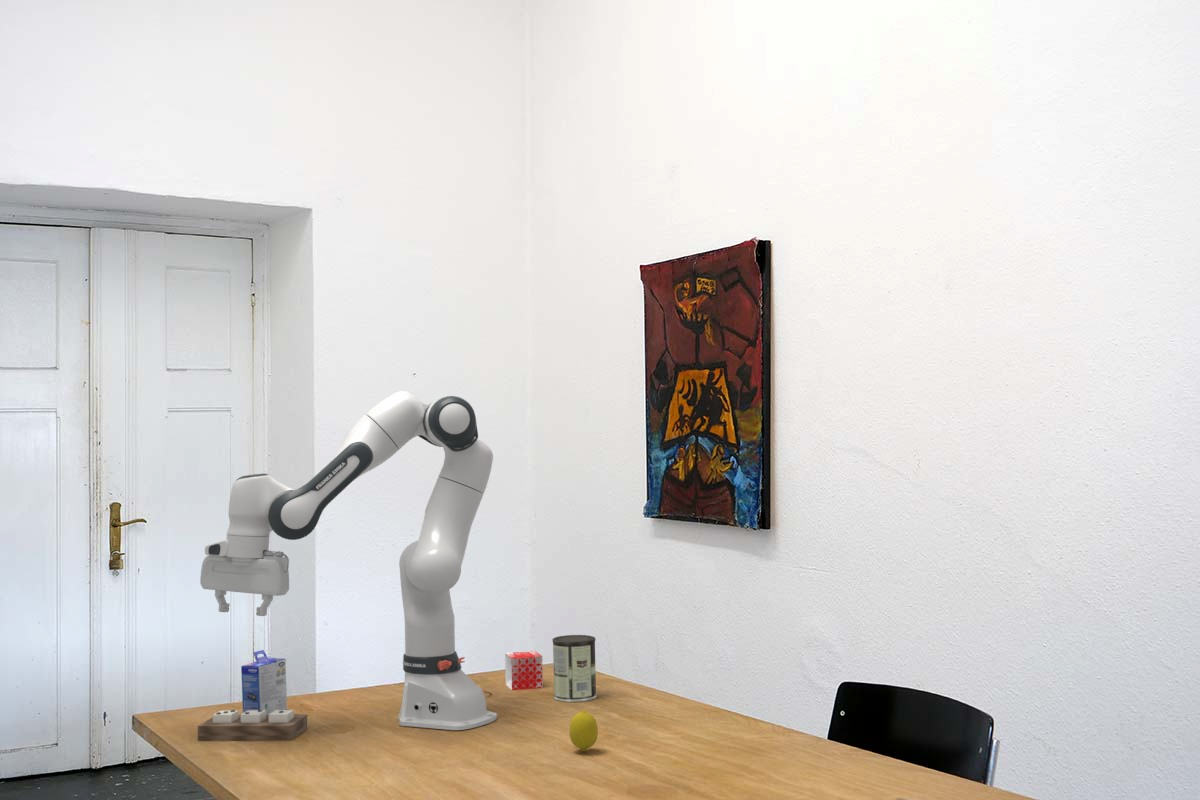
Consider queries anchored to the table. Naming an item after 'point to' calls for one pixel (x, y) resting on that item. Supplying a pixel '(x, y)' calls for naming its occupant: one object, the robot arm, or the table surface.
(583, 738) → the lemon
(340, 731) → the table surface
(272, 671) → the ink cartridge box
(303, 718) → the button panel
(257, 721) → the button two
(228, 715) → the button three
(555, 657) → the coffee can
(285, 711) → the button one
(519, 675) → the red and white cube
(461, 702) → the robot arm
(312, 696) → the table surface
